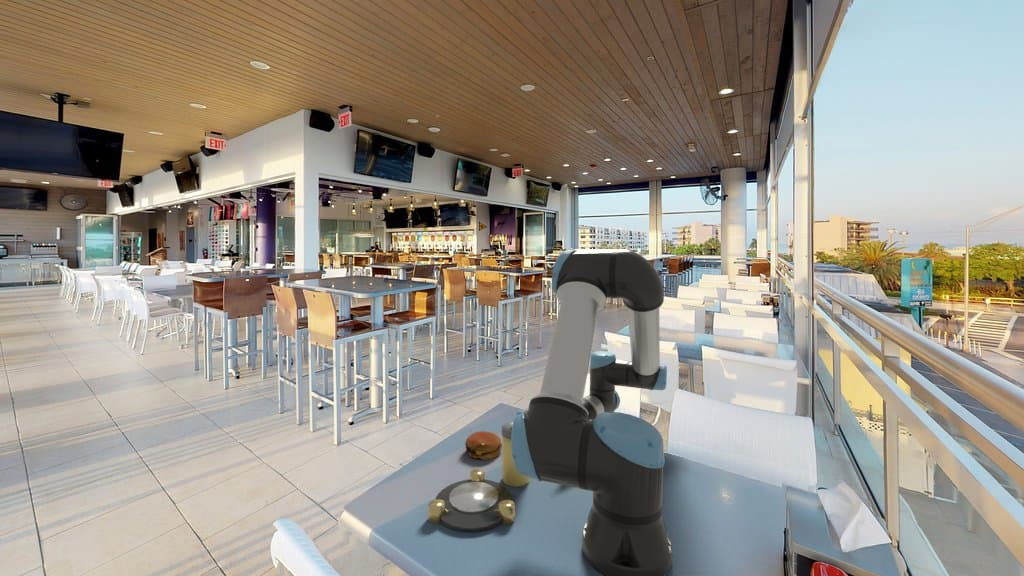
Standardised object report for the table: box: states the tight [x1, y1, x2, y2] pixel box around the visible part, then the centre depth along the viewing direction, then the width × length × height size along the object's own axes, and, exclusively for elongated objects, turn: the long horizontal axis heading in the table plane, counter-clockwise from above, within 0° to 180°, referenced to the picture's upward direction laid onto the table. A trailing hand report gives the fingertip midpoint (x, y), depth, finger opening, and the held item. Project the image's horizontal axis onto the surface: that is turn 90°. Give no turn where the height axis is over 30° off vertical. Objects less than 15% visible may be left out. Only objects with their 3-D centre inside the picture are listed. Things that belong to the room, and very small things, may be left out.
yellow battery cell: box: [501, 421, 531, 488], centre depth 96 cm, size 7×7×13 cm
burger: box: [464, 430, 503, 461], centre depth 110 cm, size 10×9×5 cm
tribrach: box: [427, 468, 516, 533], centre depth 85 cm, size 17×18×3 cm
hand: (541, 436), depth 103 cm, fingers open, 13 cm apart
